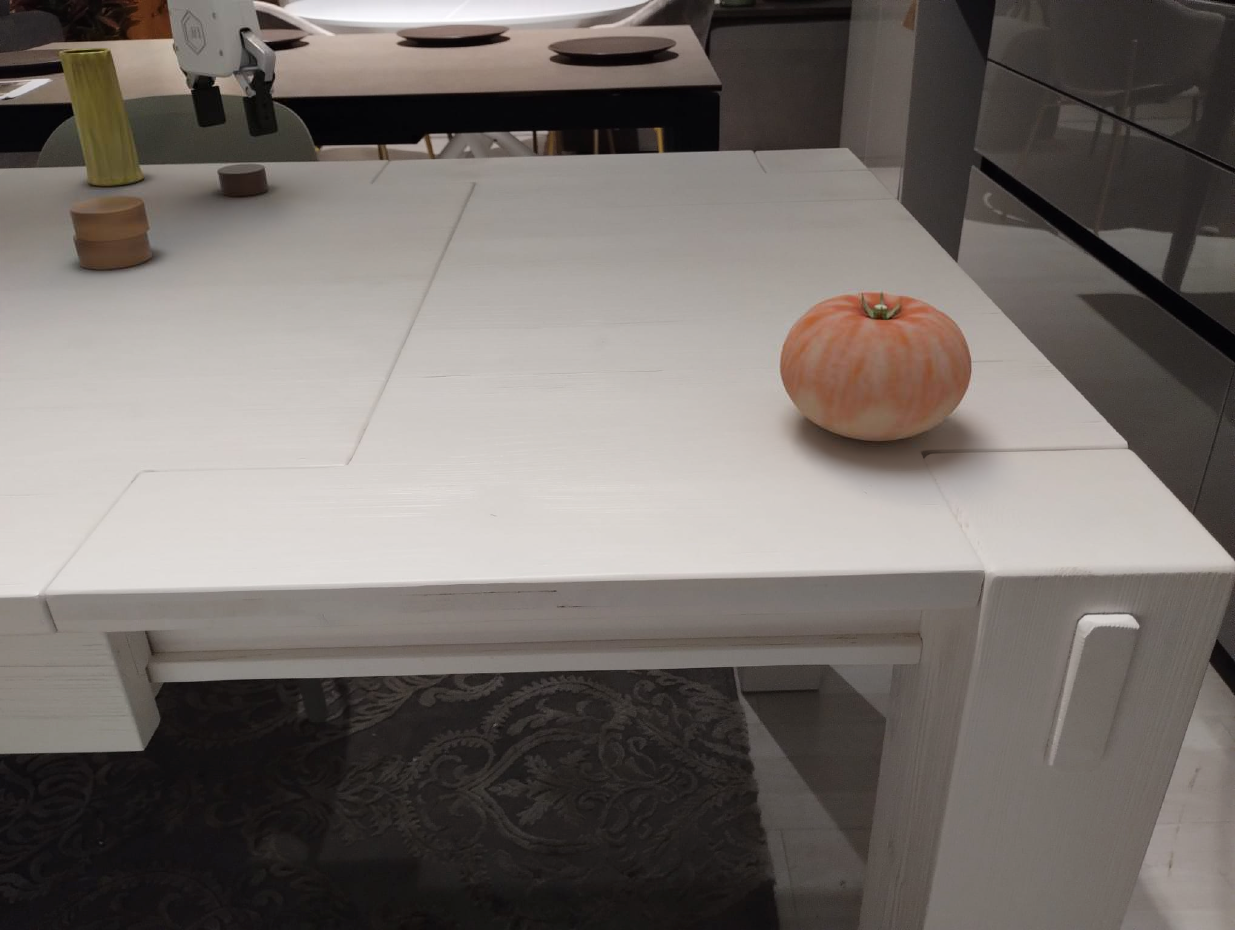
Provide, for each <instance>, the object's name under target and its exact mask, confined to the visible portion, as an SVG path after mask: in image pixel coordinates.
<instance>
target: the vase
mask: <svg viewBox="0 0 1235 930" xmlns="http://www.w3.org/2000/svg"><path fill="white" fill-rule="evenodd" d="M58 53H59V58H60V59H59V60H60V62H61V66H62V70H63V71H62V72H63V75H64V79H65V82H66V86H67V90H68V94H69V97H70V102H71V107H72V112H73V116H74V120H75V124H76V131H77V134H78V138H79V142H80V145H81V149H82V156H83V159H84V163H85V168H86V170H85V171H86V178H87V183H88V184H89V185H91V186H96V187H119V186H125V185H131V184H135V183H138V182H140V181H142V180H143V179H145V174H144V173H143V171H142V169H141V167H140V166H141V165H140V161H139V158H138V152H137V151H138V150H137V147H136V144H135V139H134V136H133V132H132V127H131V124H130V121H129V116H128V113H127V109H126V105H125V102H124V98H123V94H122V90H121V86H120V82H119V78H118V73H117V69H116V66H115V65H116V64H115V61H114V58H113V55H112V50H111V49H110V48H107V47H84V48H82V47H81V48H71V49H63V50H60V51H59V52H58Z"/></svg>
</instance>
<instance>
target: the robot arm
mask: <svg viewBox="0 0 1235 930" xmlns="http://www.w3.org/2000/svg"><path fill="white" fill-rule="evenodd" d="M166 2H167V8H168V16H169V21H170V28H171V29H170V30H171V34H172V39H173V43H172V49H173V51H174V54H175V56H176V60H177V63H178V66H179V68H180V71H181V72H182V73H183V75H184V76H185V83H186V86H187V89H189V90H190V93H191V98H192V104H193V107H194V112H195V116H196V121H197V125H198V127H200V128H204V129H205V128H209V127H215V126H221V125H224V124H226V122H227V118H226V112H225V108H224V103H223V98H222V94H221V89H220V85H215V83H216V80H217V78H222V79H225V78H230V77H232V76H234V78H235V79H236V81H237V83H238V84H239V87H241V89H242V90H243V92H244V94H245V95H246V96H243V97H242V103H243V107H244V113H245V118H246V123H247V128H248V133H249V135H250V136H251V137H254V138H256V137H257V138H258V137H262V136H267V135H272V134H276V133H277V132H278V131H279V126H278V120H277V116H276V111H275V105H274V100H273V94H274V93H275V87H274V82H275V80H276V73H275V68H276V61H277V55H276V53H275V51H274V50H273V49H272V48H270V46H269V45H267V44H266V43H265V42H264V41H263V38H262V33H261V28H260V23H259V19H258V14H257V11H256V6H255V3H254V0H167V1H166ZM249 77H252V79H250V78H249Z"/></svg>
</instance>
